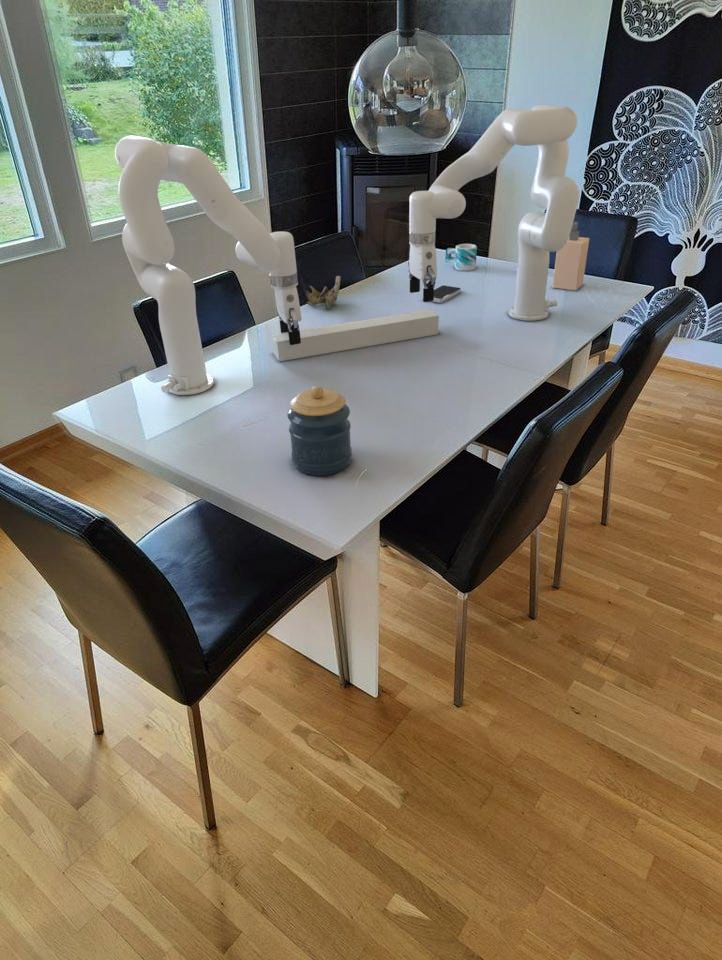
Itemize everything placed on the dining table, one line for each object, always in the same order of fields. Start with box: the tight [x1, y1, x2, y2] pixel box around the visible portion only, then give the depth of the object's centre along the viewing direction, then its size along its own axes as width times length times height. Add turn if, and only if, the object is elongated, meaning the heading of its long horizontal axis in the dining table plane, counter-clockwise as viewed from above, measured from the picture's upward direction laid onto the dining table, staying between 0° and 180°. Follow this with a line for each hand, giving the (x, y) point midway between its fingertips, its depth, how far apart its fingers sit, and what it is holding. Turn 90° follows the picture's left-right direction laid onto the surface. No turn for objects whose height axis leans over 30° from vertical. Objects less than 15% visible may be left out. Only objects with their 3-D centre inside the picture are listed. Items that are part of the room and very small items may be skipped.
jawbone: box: [305, 275, 341, 310], centre depth 232 cm, size 9×15×10 cm
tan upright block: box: [552, 221, 590, 292], centre depth 235 cm, size 13×9×22 cm
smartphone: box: [431, 285, 462, 304], centre depth 237 cm, size 8×1×15 cm
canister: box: [287, 385, 353, 476], centre depth 141 cm, size 13×13×18 cm
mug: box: [445, 243, 478, 272], centre depth 265 cm, size 8×12×8 cm
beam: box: [271, 309, 440, 362], centre depth 201 cm, size 51×6×6 cm, turn 110°
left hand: (290, 338), depth 194 cm, fingers open, 9 cm apart
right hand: (421, 296), depth 202 cm, fingers open, 9 cm apart
